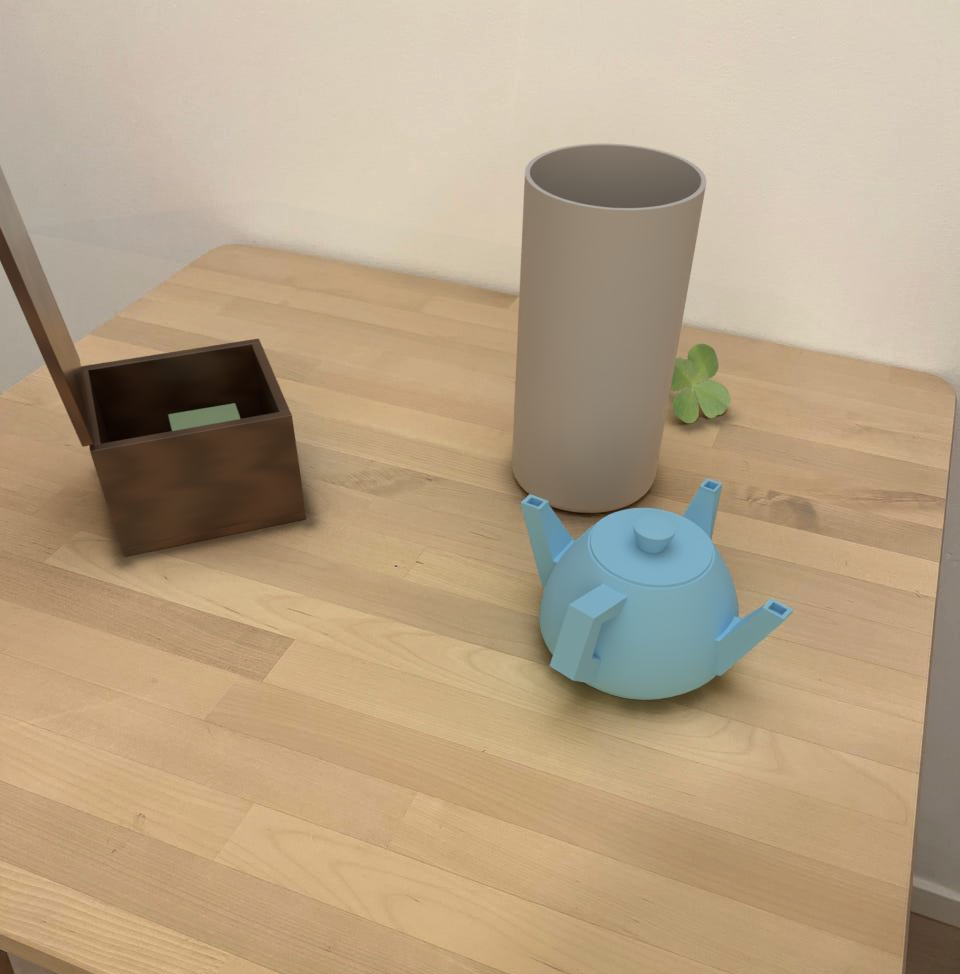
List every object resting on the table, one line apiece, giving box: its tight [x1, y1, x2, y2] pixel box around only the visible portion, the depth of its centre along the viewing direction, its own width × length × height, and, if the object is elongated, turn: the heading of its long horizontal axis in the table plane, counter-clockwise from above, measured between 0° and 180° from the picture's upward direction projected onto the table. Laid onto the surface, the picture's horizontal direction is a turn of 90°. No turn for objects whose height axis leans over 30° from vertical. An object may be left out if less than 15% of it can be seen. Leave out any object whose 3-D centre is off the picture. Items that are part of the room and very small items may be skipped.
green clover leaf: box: [670, 343, 732, 424], centre depth 92 cm, size 7×8×6 cm
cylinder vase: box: [511, 143, 707, 514], centre depth 76 cm, size 12×12×25 cm
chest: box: [81, 338, 307, 557], centre depth 78 cm, size 15×13×10 cm
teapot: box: [520, 477, 794, 701], centre depth 66 cm, size 15×15×11 cm
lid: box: [0, 165, 93, 448], centre depth 67 cm, size 16×13×1 cm
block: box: [168, 403, 241, 431], centre depth 80 cm, size 6×6×6 cm
